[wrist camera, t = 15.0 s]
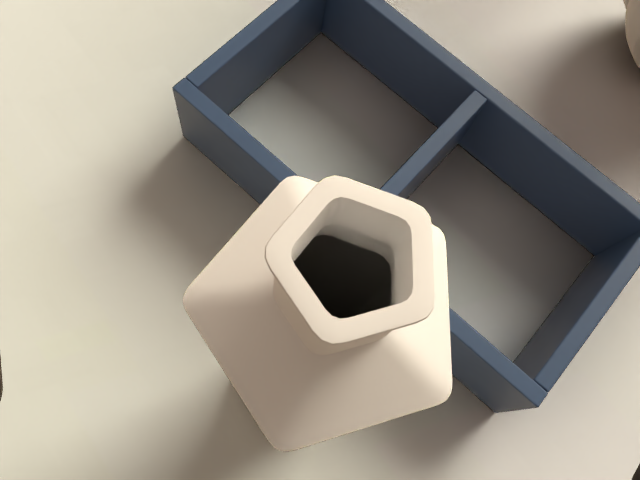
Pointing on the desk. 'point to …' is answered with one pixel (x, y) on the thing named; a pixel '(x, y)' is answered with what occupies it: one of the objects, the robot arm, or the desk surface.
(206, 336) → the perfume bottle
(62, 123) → the desk surface
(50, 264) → the desk surface
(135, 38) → the desk surface
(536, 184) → the box
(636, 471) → the robot arm
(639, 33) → the headphones
